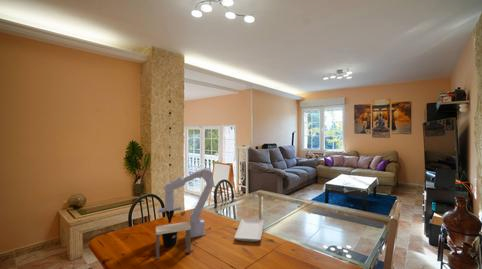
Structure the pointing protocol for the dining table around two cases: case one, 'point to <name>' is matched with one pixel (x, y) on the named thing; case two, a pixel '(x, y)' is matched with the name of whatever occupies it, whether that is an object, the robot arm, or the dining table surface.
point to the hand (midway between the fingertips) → (169, 222)
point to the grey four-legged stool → (174, 228)
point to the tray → (249, 230)
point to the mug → (169, 239)
